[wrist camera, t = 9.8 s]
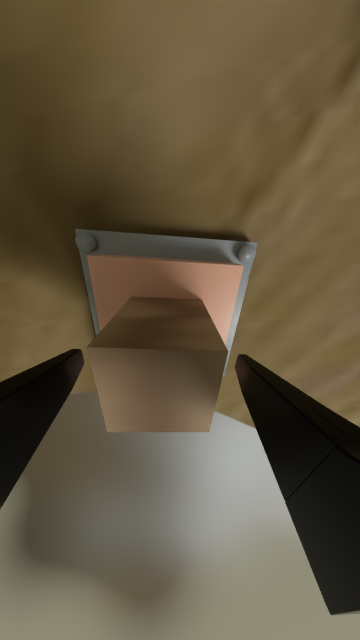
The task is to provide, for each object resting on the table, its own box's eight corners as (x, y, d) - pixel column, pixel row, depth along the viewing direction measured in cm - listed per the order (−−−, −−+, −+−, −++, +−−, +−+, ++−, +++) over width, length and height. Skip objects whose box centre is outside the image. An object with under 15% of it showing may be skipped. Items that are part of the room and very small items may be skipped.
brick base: (251, 242, 12) (273, 241, 10) (221, 368, 18) (230, 389, 15) (82, 230, 11) (54, 224, 9) (106, 364, 17) (94, 387, 14)
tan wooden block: (201, 299, 11) (228, 351, 6) (194, 355, 13) (209, 432, 8) (130, 296, 11) (86, 347, 5) (135, 353, 13) (107, 431, 7)
